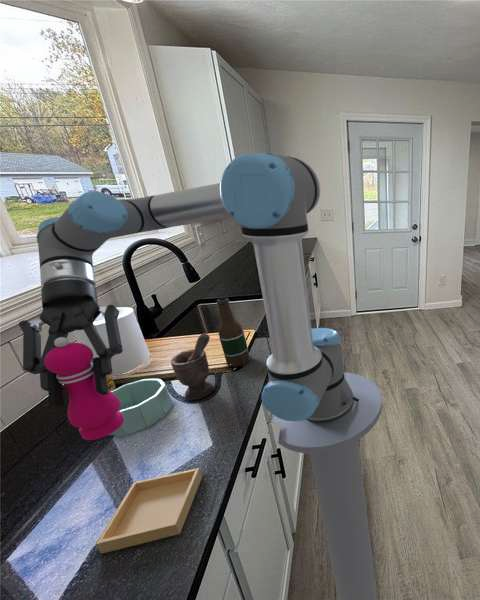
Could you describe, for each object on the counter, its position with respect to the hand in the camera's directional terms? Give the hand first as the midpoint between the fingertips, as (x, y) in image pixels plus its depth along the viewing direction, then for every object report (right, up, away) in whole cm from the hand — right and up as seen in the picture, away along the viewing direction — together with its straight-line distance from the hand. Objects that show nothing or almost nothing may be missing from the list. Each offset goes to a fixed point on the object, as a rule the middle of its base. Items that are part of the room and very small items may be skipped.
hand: (80, 399), depth 55 cm
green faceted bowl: (-17, -15, +32) cm, 39 cm away
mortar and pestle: (-3, -11, +41) cm, 42 cm away
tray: (+9, -24, +6) cm, 26 cm away
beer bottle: (-1, -5, +57) cm, 57 cm away
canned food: (-33, -13, +39) cm, 53 cm away
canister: (-42, -7, +57) cm, 71 cm away
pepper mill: (-2, -8, +6) cm, 10 cm away
